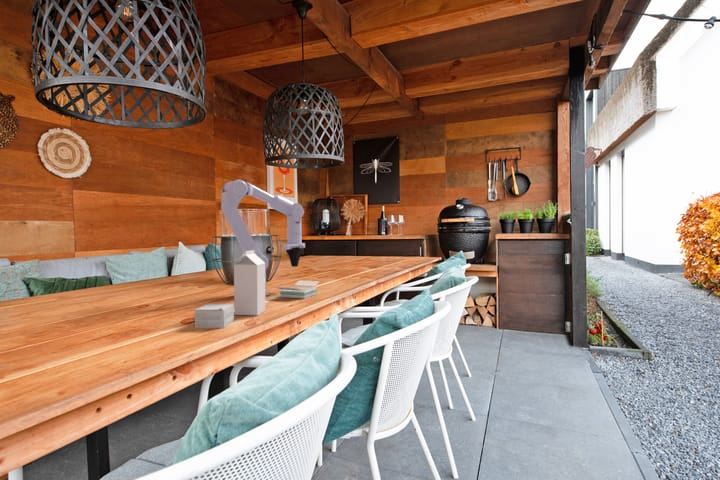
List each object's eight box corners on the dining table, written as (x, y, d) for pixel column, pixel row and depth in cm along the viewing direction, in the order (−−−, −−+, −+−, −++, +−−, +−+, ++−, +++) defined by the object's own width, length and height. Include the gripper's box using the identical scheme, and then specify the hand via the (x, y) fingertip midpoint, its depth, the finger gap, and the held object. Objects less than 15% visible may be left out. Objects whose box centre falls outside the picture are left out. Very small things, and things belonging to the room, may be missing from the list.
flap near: (281, 288, 148) (276, 286, 144) (303, 289, 145) (298, 287, 141) (281, 289, 148) (275, 287, 144) (303, 290, 145) (298, 288, 141)
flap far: (315, 286, 154) (319, 281, 157) (294, 284, 157) (298, 280, 160) (315, 286, 154) (319, 282, 158) (294, 285, 157) (299, 281, 161)
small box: (206, 321, 111) (206, 303, 111) (234, 321, 111) (234, 303, 110) (194, 328, 103) (193, 309, 103) (224, 329, 103) (223, 309, 103)
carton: (304, 298, 144) (304, 291, 144) (279, 297, 148) (279, 290, 148) (316, 294, 154) (316, 287, 154) (293, 292, 157) (293, 286, 157)
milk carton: (265, 311, 124) (265, 249, 123) (257, 316, 117) (257, 251, 116) (243, 310, 125) (243, 249, 124) (234, 315, 118) (233, 251, 117)
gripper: (294, 233, 154) (294, 268, 154) (311, 232, 167) (311, 265, 168) (278, 233, 156) (278, 267, 156) (296, 232, 170) (296, 264, 170)
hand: (294, 266), depth 162 cm, fingers closed
